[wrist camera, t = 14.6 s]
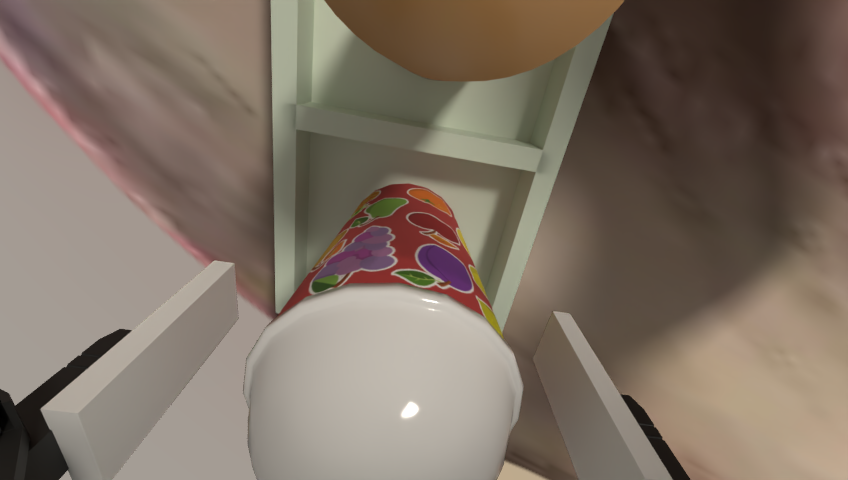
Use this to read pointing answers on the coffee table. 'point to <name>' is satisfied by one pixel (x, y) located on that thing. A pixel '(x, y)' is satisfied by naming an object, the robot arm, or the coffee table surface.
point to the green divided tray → (412, 144)
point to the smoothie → (385, 357)
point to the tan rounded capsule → (472, 33)
